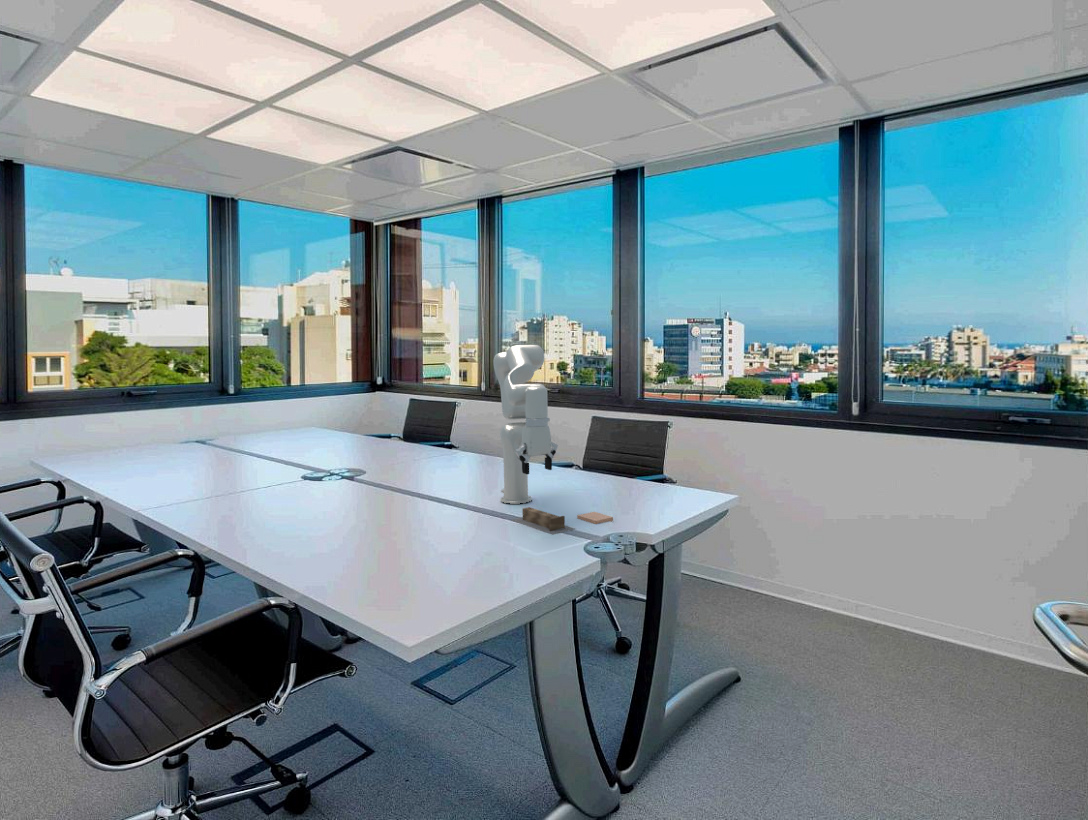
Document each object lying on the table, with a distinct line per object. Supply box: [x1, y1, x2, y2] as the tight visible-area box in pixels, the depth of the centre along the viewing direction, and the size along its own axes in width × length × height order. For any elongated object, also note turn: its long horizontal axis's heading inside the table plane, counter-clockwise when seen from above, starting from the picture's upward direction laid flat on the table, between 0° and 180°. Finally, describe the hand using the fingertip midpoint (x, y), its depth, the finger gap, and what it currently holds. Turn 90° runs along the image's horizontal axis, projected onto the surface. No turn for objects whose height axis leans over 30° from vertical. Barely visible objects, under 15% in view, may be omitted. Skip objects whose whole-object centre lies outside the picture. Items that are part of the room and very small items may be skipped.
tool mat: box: [511, 516, 576, 535], centre depth 224 cm, size 24×10×1 cm, turn 38°
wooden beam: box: [521, 506, 566, 531], centre depth 224 cm, size 18×6×4 cm, turn 38°
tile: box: [576, 511, 614, 525], centre depth 229 cm, size 2×8×10 cm
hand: (537, 471), depth 225 cm, fingers open, 9 cm apart
